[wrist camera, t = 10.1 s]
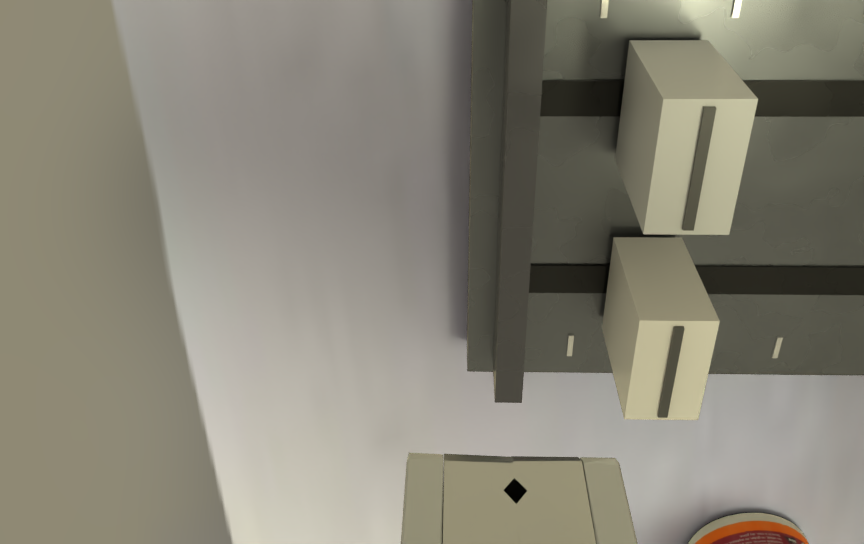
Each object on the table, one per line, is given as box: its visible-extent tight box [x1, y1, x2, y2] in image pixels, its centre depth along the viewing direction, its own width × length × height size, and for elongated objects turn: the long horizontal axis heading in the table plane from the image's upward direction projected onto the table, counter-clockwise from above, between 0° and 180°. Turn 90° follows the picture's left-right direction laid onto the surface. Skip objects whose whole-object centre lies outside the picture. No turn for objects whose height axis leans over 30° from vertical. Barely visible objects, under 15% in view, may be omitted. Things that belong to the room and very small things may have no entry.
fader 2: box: [602, 237, 720, 420], centre depth 28 cm, size 2×4×5 cm, turn 0°
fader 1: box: [615, 40, 758, 235], centre depth 24 cm, size 2×4×5 cm, turn 0°
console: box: [467, 0, 864, 403], centre depth 28 cm, size 24×16×4 cm, turn 91°
